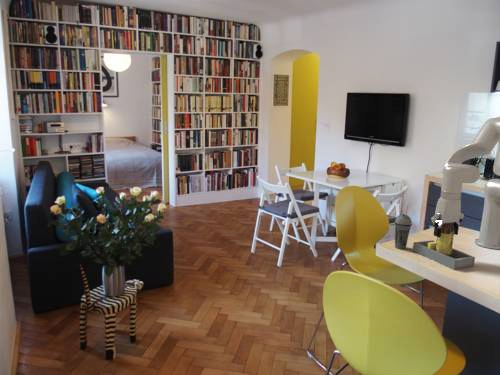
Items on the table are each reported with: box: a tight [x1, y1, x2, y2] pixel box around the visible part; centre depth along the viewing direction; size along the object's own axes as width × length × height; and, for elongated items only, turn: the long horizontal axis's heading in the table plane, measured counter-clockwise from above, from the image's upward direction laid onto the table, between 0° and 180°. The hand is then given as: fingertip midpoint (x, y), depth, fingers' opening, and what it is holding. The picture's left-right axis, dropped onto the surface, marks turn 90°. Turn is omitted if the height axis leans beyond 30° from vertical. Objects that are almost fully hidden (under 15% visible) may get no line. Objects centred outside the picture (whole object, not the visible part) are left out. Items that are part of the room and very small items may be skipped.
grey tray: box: [412, 239, 476, 271], centre depth 174 cm, size 11×22×4 cm, turn 23°
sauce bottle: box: [435, 223, 455, 257], centre depth 172 cm, size 7×6×20 cm
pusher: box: [427, 242, 436, 250], centre depth 178 cm, size 8×5×5 cm, turn 113°
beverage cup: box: [394, 204, 413, 250], centre depth 183 cm, size 7×7×20 cm
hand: (445, 235), depth 172 cm, fingers open, 9 cm apart
